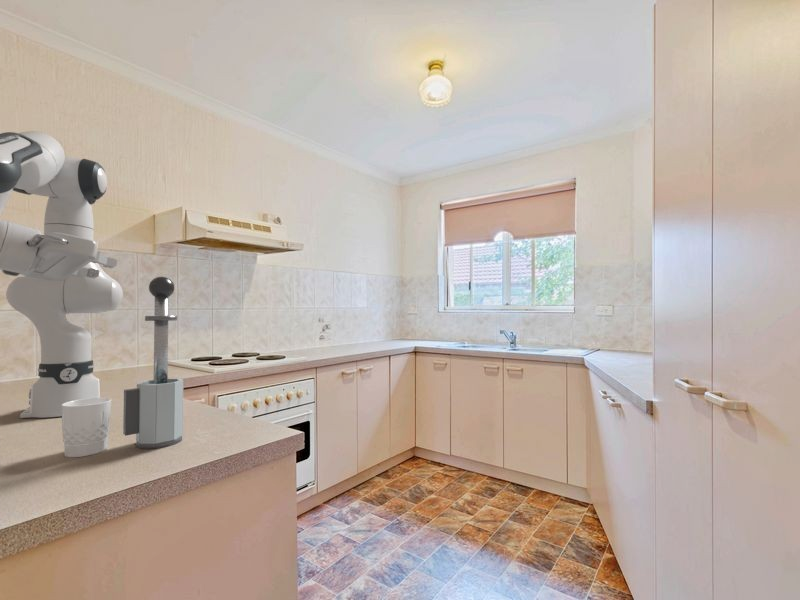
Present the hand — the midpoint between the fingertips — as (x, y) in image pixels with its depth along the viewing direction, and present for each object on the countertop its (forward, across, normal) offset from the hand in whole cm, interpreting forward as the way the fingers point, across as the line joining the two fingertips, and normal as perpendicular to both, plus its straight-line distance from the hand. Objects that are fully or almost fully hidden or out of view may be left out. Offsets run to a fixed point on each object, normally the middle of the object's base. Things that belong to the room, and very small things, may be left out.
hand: (106, 269), depth 85 cm
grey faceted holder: (+14, -2, +36) cm, 39 cm away
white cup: (+4, +4, +37) cm, 38 cm away
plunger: (+13, -4, +26) cm, 30 cm away
